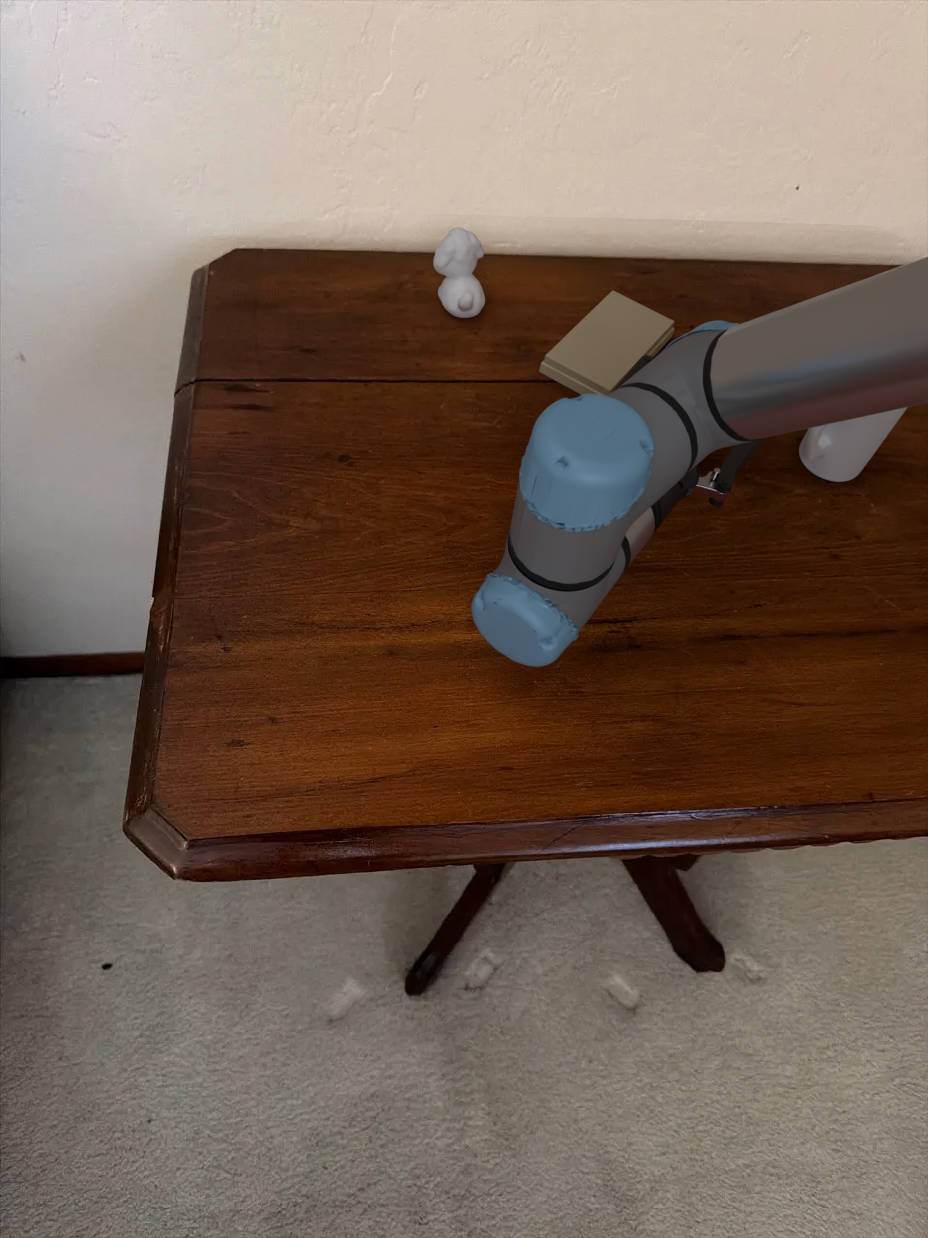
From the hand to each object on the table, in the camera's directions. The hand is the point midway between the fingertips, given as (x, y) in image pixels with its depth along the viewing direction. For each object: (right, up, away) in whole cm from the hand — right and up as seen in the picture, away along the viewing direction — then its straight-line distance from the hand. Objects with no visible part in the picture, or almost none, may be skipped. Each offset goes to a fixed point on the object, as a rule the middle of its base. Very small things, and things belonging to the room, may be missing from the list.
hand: (739, 353), depth 80 cm
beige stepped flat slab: (-10, +3, +11) cm, 15 cm away
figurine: (-26, +9, +13) cm, 30 cm away
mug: (+9, -9, +5) cm, 14 cm away
